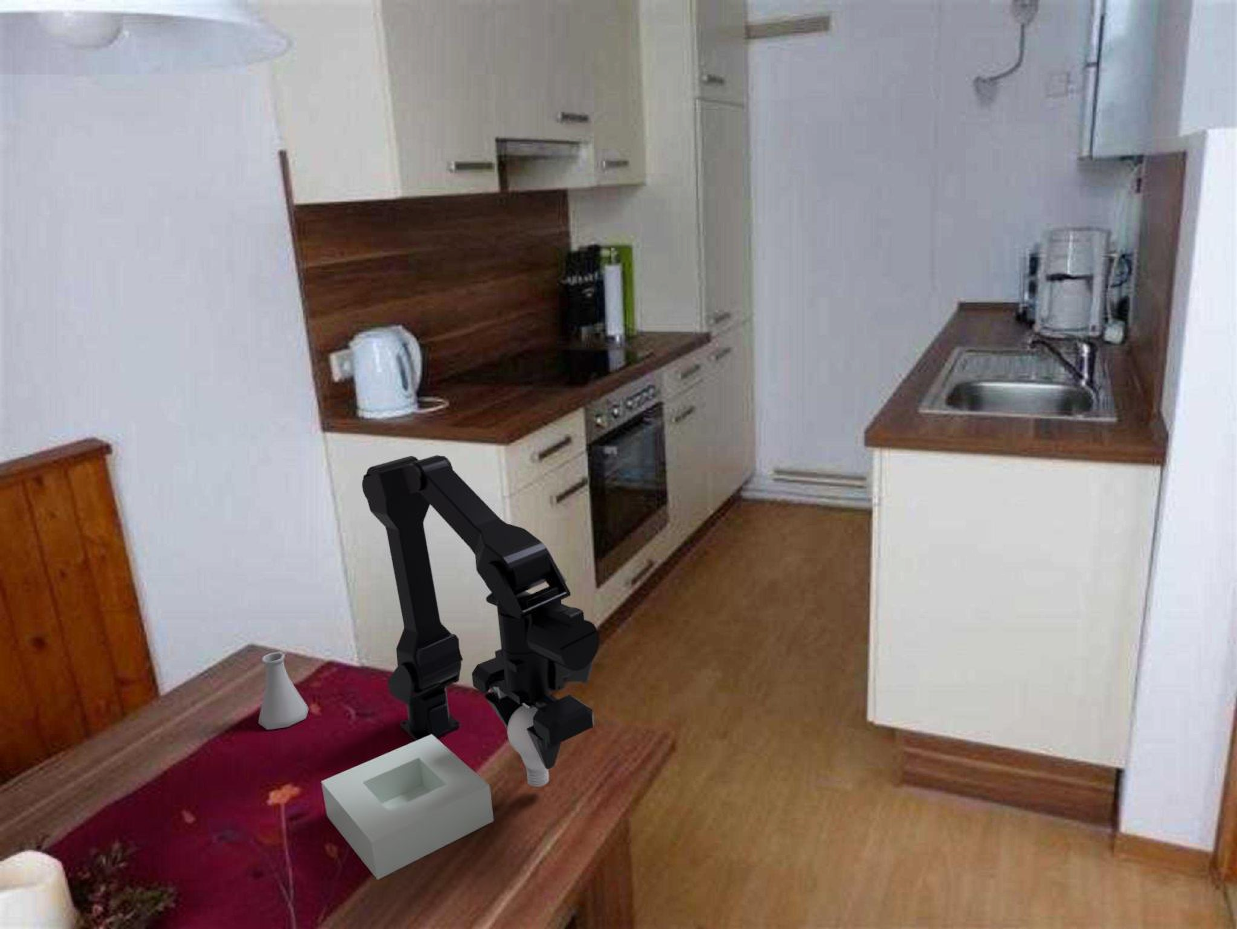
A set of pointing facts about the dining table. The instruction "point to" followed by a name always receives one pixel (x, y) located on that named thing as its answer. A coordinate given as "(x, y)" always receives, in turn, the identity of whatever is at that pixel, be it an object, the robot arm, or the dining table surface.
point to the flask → (280, 696)
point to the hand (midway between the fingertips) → (536, 756)
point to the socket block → (406, 804)
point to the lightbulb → (527, 745)
